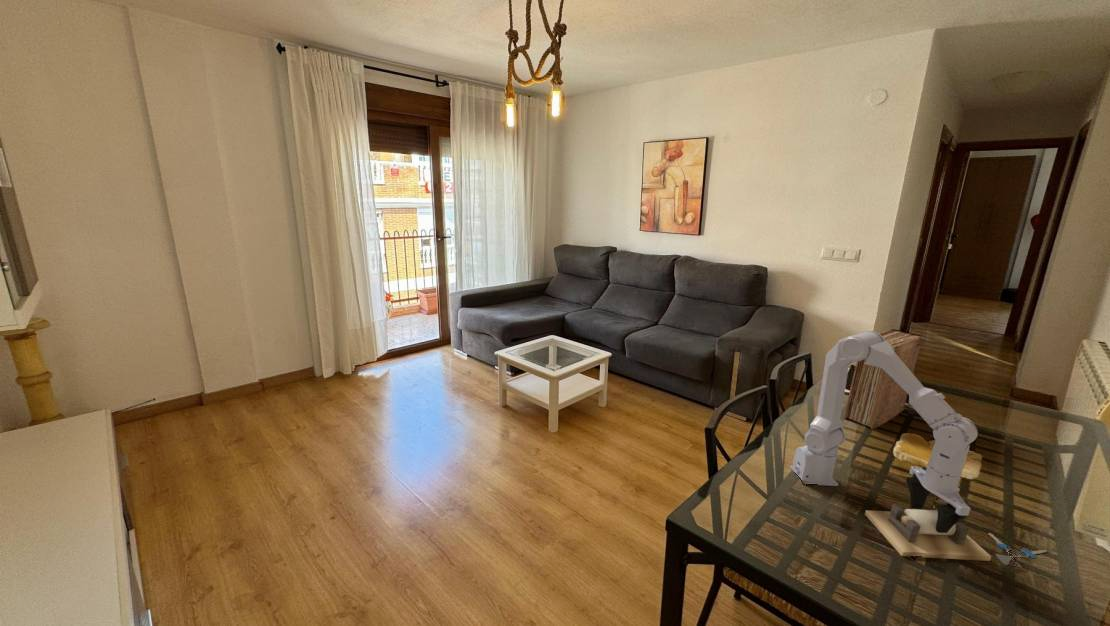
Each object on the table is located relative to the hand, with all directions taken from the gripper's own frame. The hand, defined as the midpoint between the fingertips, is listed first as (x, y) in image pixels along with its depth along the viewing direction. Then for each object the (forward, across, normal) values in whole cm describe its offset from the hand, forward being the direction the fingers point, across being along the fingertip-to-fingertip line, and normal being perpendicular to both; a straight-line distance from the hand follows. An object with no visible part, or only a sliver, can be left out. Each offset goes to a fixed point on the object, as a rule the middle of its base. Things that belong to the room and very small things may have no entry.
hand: (928, 519), depth 103 cm
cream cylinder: (+1, 0, 0) cm, 1 cm away
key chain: (+5, -2, -17) cm, 18 cm away
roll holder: (+5, 0, 0) cm, 5 cm away
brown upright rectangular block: (+5, +60, -27) cm, 66 cm away
